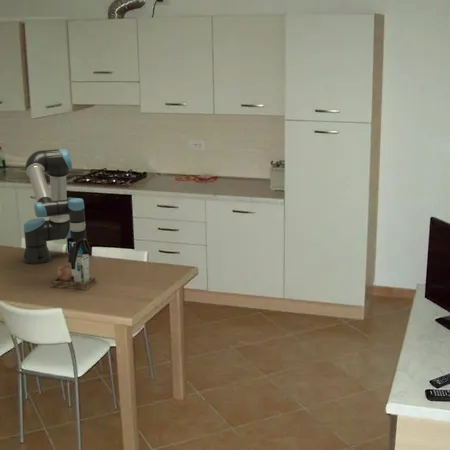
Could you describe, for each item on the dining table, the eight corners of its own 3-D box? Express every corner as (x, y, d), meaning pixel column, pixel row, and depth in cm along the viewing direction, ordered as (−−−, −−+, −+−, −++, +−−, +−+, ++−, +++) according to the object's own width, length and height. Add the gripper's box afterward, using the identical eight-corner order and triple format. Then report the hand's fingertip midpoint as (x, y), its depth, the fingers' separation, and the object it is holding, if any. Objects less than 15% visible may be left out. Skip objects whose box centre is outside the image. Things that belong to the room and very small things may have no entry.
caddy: (50, 287, 348) (48, 270, 346) (61, 280, 359) (60, 263, 357) (86, 290, 343) (85, 273, 341) (97, 282, 354) (96, 265, 352)
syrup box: (73, 284, 349) (71, 257, 345) (80, 281, 354) (79, 253, 350) (83, 286, 346) (81, 258, 343) (90, 282, 352) (88, 255, 348)
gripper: (73, 237, 330) (76, 279, 336) (95, 223, 354) (98, 263, 359) (59, 236, 332) (62, 278, 338) (82, 223, 356) (84, 262, 361)
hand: (80, 270), depth 348 cm, fingers open, 13 cm apart
